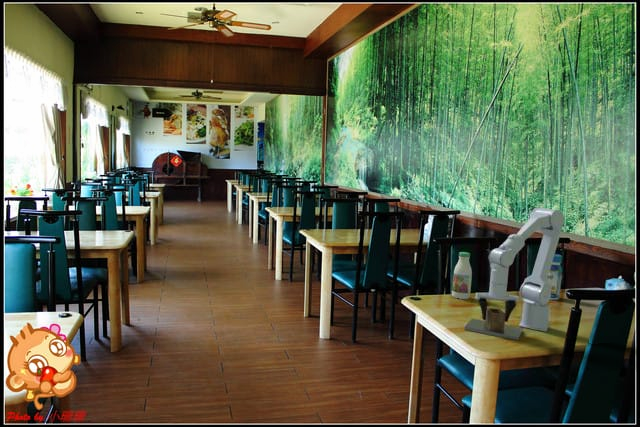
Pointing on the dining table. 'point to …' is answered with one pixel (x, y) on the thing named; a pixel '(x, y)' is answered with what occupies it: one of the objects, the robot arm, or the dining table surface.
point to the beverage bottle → (555, 276)
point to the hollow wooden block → (495, 319)
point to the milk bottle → (462, 277)
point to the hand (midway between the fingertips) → (494, 320)
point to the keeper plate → (508, 332)
